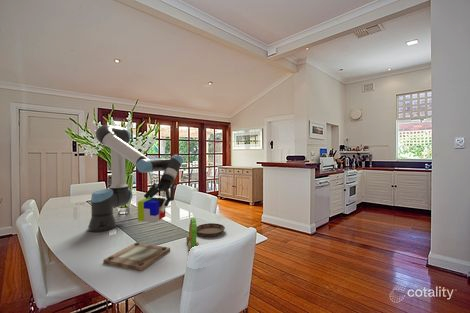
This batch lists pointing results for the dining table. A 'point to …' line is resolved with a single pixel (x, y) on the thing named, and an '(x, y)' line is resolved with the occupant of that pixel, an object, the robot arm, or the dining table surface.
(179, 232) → the dining table surface
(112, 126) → the robot arm
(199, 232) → the plant saucer
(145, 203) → the puzzle toy
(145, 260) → the base plate
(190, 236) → the green upright piece
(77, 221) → the dining table surface
